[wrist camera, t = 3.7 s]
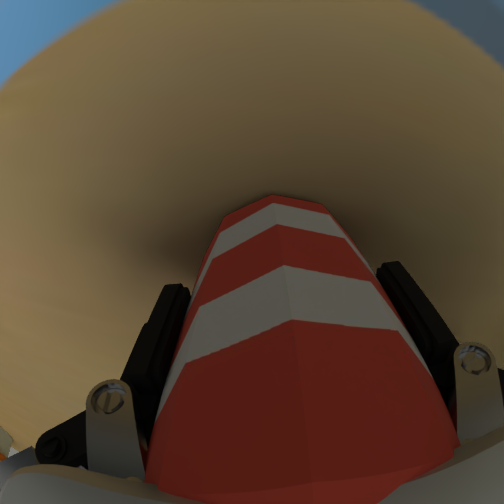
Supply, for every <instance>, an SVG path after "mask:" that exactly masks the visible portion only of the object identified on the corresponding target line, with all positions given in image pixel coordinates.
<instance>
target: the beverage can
mask: <svg viewBox="0 0 504 504" xmlns="http://www.w3.org/2000/svg"><path fill="white" fill-rule="evenodd" d="M460 446H461V444H460V441H459V439H458V436H457V433H456V430H455V427H454V424H453V421H452V418H451V416H450V413H449V411H448V409H447V407H446V404H445V402H444V400H443V398H442V396H441V394H440V391H439V389H438V387H437V385H436V383H435V381H434V379H433V377H432V375H431V373H430V371H429V369H428V367H427V365H426V363H425V361H424V359H423V357H422V355H421V353H420V352H419V350H418V348H417V346H416V344H415V342H414V340H413V339H412V337H411V335H410V333H409V331H408V329H407V328H406V326H405V324H404V322H403V321H402V319H401V317H400V315H399V314H398V312H397V310H396V309H395V307H394V305H393V303H392V302H391V300H390V298H389V297H388V295H387V293H386V292H385V290H384V288H383V287H382V285H381V284H380V282H379V280H378V279H377V277H376V276H375V274H374V272H373V271H372V269H371V268H370V266H369V265H368V263H367V261H366V260H365V258H364V257H363V255H362V254H361V252H360V251H359V249H358V248H357V246H356V245H355V243H354V242H353V240H352V239H351V238H350V236H349V235H348V234H347V233H346V231H345V230H344V229H343V228H342V227H341V226H340V224H339V223H338V222H337V221H336V220H335V218H334V217H333V216H332V215H331V214H330V213H329V211H328V210H327V209H326V208H325V207H324V206H323V205H322V204H319V203H314V202H309V201H304V200H298V199H293V198H288V197H283V196H277V195H269V196H267V197H265V198H263V199H261V200H258V201H256V202H254V203H252V204H250V205H248V206H246V207H243V208H241V209H239V210H237V211H235V212H233V213H231V214H229V215H226V216H225V217H224V219H223V220H222V222H221V224H220V226H219V228H218V230H217V232H216V234H215V236H214V238H213V240H212V242H211V244H210V246H209V248H208V250H207V252H206V254H205V256H204V258H203V261H202V264H201V267H200V270H199V273H198V276H197V280H196V283H195V286H194V289H193V292H192V295H191V299H190V302H189V305H188V308H187V311H186V315H185V318H184V321H183V324H182V328H181V331H180V334H179V338H178V341H177V344H176V348H175V351H174V354H173V358H172V361H171V365H170V368H169V372H168V375H167V379H166V382H165V386H164V389H163V393H162V396H161V400H160V404H159V407H158V411H157V415H156V419H155V423H154V427H153V431H152V434H151V438H150V442H149V447H148V451H147V460H146V474H145V479H144V483H150V484H156V485H157V488H158V490H160V491H163V492H166V493H168V494H172V495H175V496H179V497H183V498H187V499H191V500H195V501H199V502H204V503H208V504H378V503H379V502H380V501H382V500H383V499H384V498H386V497H387V496H388V495H389V494H391V493H392V492H393V491H394V490H396V489H397V488H398V487H399V486H400V485H402V484H404V483H406V482H408V481H410V480H412V479H414V478H416V477H418V476H420V475H422V474H424V473H426V472H428V471H430V470H432V469H434V468H436V467H437V466H439V465H441V464H443V463H444V462H446V461H448V460H450V459H451V458H453V457H454V449H455V448H457V447H460Z"/></svg>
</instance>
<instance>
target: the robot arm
mask: <svg viewBox="0 0 504 504" xmlns="http://www.w3.org/2000/svg"><path fill="white" fill-rule="evenodd" d="M376 277H377V279H378V280H379V282H380V284H381V285H382V287H383V288H384V290H385V292H386V293H387V295H388V297H389V298H390V300H391V302H392V303H393V305H394V307H395V309H396V310H397V312H398V314H399V315H400V317H401V319H402V321H403V322H404V324H405V326H406V328H407V329H408V331H409V333H410V335H411V337H412V339H413V340H414V342H415V344H416V346H417V348H418V350H419V352H420V353H421V355H422V357H423V359H424V361H425V363H426V365H427V367H428V369H429V371H430V373H431V375H432V377H433V379H434V381H435V383H436V385H437V387H438V389H439V391H440V394H441V396H442V398H443V400H444V402H445V404H446V407H447V409H448V411H449V413H450V416H451V418H452V421H453V424H454V427H455V430H456V433H457V436H458V439H459V441H460V444H461V446H460V447H457V448H455V449H454V457H453V458H451V459H450V460H448V461H446V462H444V463H443V464H441V465H439V466H437V467H436V468H434V469H432V470H430V471H428V472H426V473H424V474H422V475H420V476H418V477H416V478H414V479H412V480H410V481H408V482H406V483H404V484H402V485H400V486H399V487H398V488H397V489H396V490H394V491H393V492H392V493H391V494H389V495H388V496H387V497H386V498H384V499H383V500H382V501H380V502H379V503H378V504H504V370H502V369H499V368H497V365H496V360H495V357H494V355H493V353H492V352H491V351H490V349H488V348H487V347H486V346H484V345H482V344H480V343H477V342H465V343H463V344H461V345H459V343H458V342H457V340H456V339H455V337H454V335H453V334H452V332H451V331H450V329H449V328H448V327H447V325H446V324H445V322H444V321H443V319H442V318H441V316H440V315H439V313H438V312H437V311H436V309H435V308H434V306H433V305H432V304H431V302H430V301H429V300H428V298H427V297H426V296H425V294H424V293H423V292H422V290H421V289H420V288H419V286H418V285H417V284H416V282H415V281H414V280H413V278H412V277H411V276H410V275H409V273H408V272H407V271H406V269H405V268H404V267H403V266H402V264H401V263H400V262H399V261H394V262H386V263H383V264H382V266H381V267H380V268H378V269H377V272H376ZM190 299H191V295H190V292H189V289H188V288H187V287H183V285H182V284H181V283H180V284H167V285H165V286H164V287H163V289H162V292H161V294H160V296H159V298H158V300H157V302H156V305H155V307H154V309H153V311H152V313H151V316H150V318H149V320H148V322H147V323H145V324H144V326H143V327H142V329H141V332H140V334H139V336H138V338H137V341H136V343H135V345H134V348H133V350H132V352H131V354H130V357H129V359H128V362H127V364H126V366H125V369H124V371H123V374H122V376H121V378H120V380H116V379H111V380H106V381H103V382H100V383H99V384H97V385H96V386H95V387H94V388H93V389H92V390H91V391H90V392H89V394H88V396H87V400H86V410H85V411H83V412H81V413H79V414H78V415H76V416H74V417H72V418H70V419H69V420H67V421H65V422H63V423H61V424H59V425H58V426H56V427H54V428H52V429H50V430H48V431H46V432H45V433H44V434H42V435H41V436H40V438H39V439H38V441H37V443H36V447H35V448H34V447H32V446H30V447H28V448H27V449H25V450H23V451H21V452H19V453H17V454H14V455H13V456H10V457H9V458H6V459H4V460H2V461H0V504H208V503H204V502H199V501H195V500H191V499H187V498H183V497H179V496H175V495H172V494H168V493H166V492H163V491H160V490H158V488H157V485H156V484H150V483H144V479H145V474H146V460H147V451H148V447H149V442H150V438H151V434H152V431H153V427H154V423H155V419H156V415H157V411H158V407H159V404H160V400H161V396H162V393H163V389H164V386H165V382H166V379H167V375H168V372H169V368H170V365H171V361H172V358H173V354H174V351H175V348H176V344H177V341H178V338H179V334H180V331H181V328H182V324H183V321H184V318H185V315H186V311H187V308H188V305H189V302H190Z"/></svg>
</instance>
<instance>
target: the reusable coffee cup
mask: <svg viewBox="0 0 504 504" xmlns="http://www.w3.org/2000/svg"><path fill="white" fill-rule="evenodd" d="M12 440H13V439H12V437H11V436H10V435H9V434H8V433H7V432H6V431H5V430H4V429H3V428H1V427H0V461H2V460H4V459H6V458H8V454H9V451H10V447H11V444H12Z"/></svg>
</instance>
